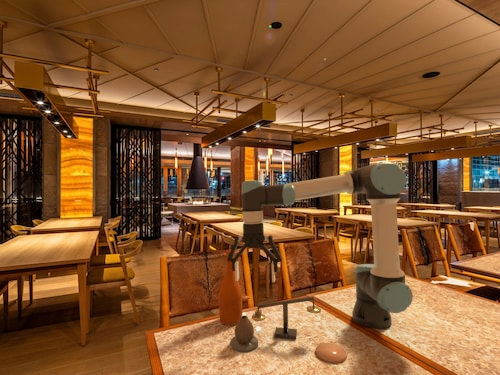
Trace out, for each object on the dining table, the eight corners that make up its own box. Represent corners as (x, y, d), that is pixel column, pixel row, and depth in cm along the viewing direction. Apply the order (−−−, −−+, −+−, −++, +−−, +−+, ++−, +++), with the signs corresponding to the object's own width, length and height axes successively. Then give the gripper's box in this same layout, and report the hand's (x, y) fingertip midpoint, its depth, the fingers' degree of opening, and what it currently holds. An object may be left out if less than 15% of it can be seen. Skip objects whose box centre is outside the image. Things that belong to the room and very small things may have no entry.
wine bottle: (245, 317, 121) (244, 248, 122) (237, 327, 112) (236, 253, 112) (225, 314, 125) (224, 247, 125) (215, 324, 115) (214, 251, 116)
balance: (321, 335, 105) (320, 294, 105) (321, 342, 100) (320, 300, 100) (253, 328, 111) (252, 290, 111) (250, 335, 106) (250, 295, 106)
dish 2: (345, 347, 97) (345, 344, 97) (348, 364, 87) (348, 361, 87) (315, 344, 99) (315, 341, 99) (315, 360, 89) (315, 357, 90)
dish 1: (260, 338, 104) (260, 335, 104) (255, 353, 94) (255, 350, 94) (234, 335, 106) (234, 333, 106) (226, 350, 96) (226, 347, 96)
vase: (252, 347, 96) (251, 322, 96) (232, 345, 97) (232, 320, 97) (255, 337, 103) (255, 313, 103) (237, 335, 104) (237, 312, 104)
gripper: (287, 220, 103) (290, 278, 103) (223, 221, 109) (225, 276, 108) (286, 223, 96) (288, 285, 96) (217, 224, 101) (219, 282, 101)
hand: (255, 280), depth 102 cm, fingers open, 13 cm apart
